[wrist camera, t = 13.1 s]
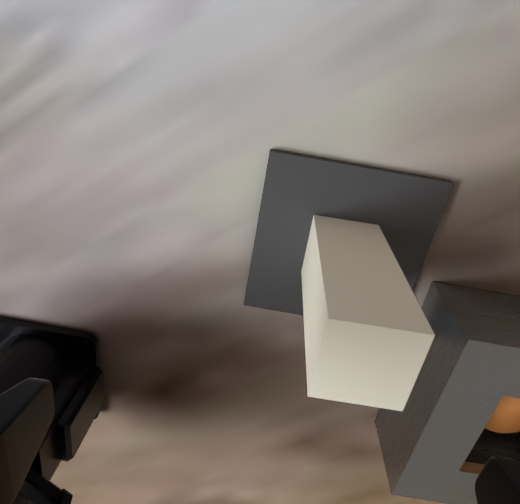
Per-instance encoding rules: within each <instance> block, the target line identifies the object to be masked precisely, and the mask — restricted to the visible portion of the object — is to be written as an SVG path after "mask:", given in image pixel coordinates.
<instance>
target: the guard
mask: <svg viewBox="0 0 520 504" xmlns="http://www.w3.org/2000/svg"><path fill="white" fill-rule="evenodd" d="M422 311H423V313H424V315H425V317H426V319H427V321H428V323H429V325H430V327H431V328H432V330H433V332H434V334H435V337H434V339H433V341H432V344H431V346H430V348H429V351H428V353H427V355H426V358H425V360H424V363H423V365H422V367H421V370H420V372H419V374H418V377H417V379H416V381H415V384H414V386H413V388H412V391H411V393H410V395H409V398H408V400H407V403H406V405H405V407H404V410H403V411H397V410H390V409H384V408H380V410H379V413H378V415H377V418H376V420H375V424H376V428H377V433H378V437H379V441H380V446H381V450H382V454H383V459H384V463H385V468H386V472H387V476H388V481H389V485H390V489H391V494H393V495H398V496H404V497H410V498H416V499H422V500H428V501H434V502H440V503H446V504H477V499H476V495H475V482H476V479H477V477H478V475H479V474H480V472H481V471H482V469H483V468H484V466H485V464H486V463H487V461H488V460H489V458H491V457H492V456H500V457H506V458H511V459H514V460H516V461H517V462H518V463H519V464H520V433H497V432H493V431H490V430H488V429H486V428H485V426H486V425H487V423H488V421H489V420H490V418H491V416H492V415H493V413H494V411H495V410H496V408H497V406H498V404H499V403H500V401H501V399H502V398H503V396H508V397H513V398H519V399H520V297H519V296H514V295H508V294H502V293H496V292H491V291H485V290H479V289H473V288H467V287H462V286H456V285H450V284H444V283H439V282H432V284H431V287H430V289H429V292H428V294H427V296H426V299H425V301H424V304H423V306H422Z"/></svg>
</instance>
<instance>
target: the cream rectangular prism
mask: <svg viewBox="0 0 520 504" xmlns="http://www.w3.org/2000/svg"><path fill="white" fill-rule="evenodd" d="M301 275H302V295H303V315H304V335H305V355H306V374H307V394H308V397H314V398H320V399H327V400H333V401H339V402H346V403H352V404H358V405H365V406H371V407H378V408H384V409H390V410H397V411H403V410H404V407H405V405H406V403H407V400H408V398H409V395H410V393H411V391H412V388H413V386H414V384H415V381H416V379H417V377H418V374H419V372H420V370H421V367H422V365H423V363H424V360H425V358H426V355H427V353H428V351H429V348H430V346H431V344H432V341H433V339H434V337H435V334H434V332H433V330H432V328H431V327H430V325H429V323H428V321H427V319H426V317H425V315H424V313H423V311H422V309H421V307H420V305H419V303H418V301H417V299H416V297H415V295H414V293H413V291H412V289H411V287H410V285H409V283H408V281H407V280H406V278H405V276H404V274H403V272H402V270H401V268H400V266H399V264H398V262H397V260H396V258H395V256H394V254H393V252H392V250H391V248H390V246H389V244H388V242H387V240H386V238H385V236H384V234H383V233H382V231H381V229H380V227H379V225H376V224H369V223H363V222H357V221H350V220H344V219H338V218H331V217H325V216H319V215H313V220H312V224H311V229H310V234H309V238H308V243H307V247H306V252H305V257H304V261H303V266H302V270H301Z"/></svg>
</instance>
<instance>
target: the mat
mask: <svg viewBox="0 0 520 504" xmlns="http://www.w3.org/2000/svg"><path fill="white" fill-rule="evenodd" d="M452 186H453V183H452V182H451V181H448V180H442V179H437V178H431V177H425V176H420V175H414V174H408V173H403V172H397V171H391V170H385V169H380V168H374V167H368V166H363V165H357V164H351V163H346V162H340V161H334V160H329V159H323V158H317V157H312V156H306V155H300V154H295V153H289V152H283V151H278V150H272V149H270V154H269V160H268V165H267V171H266V177H265V183H264V189H263V195H262V201H261V207H260V212H259V218H258V224H257V230H256V236H255V242H254V248H253V254H252V260H251V265H250V271H249V277H248V283H247V289H246V295H245V301H244V305H247V306H252V307H258V308H264V309H270V310H276V311H282V312H287V313H293V314H299V315H303V295H302V275H301V270H302V266H303V261H304V257H305V252H306V247H307V243H308V238H309V234H310V229H311V224H312V220H313V215H319V216H325V217H331V218H338V219H344V220H350V221H357V222H363V223H369V224H376V225H379V227H380V229H381V231H382V233H383V234H384V236H385V238H386V240H387V242H388V244H389V246H390V248H391V250H392V252H393V254H394V256H395V258H396V260H397V262H398V264H399V266H400V268H401V270H402V272H403V274H404V276H405V278H406V280H407V281H408V283H409V285H410V287H411V289H413V286H414V284H415V281H416V279H417V276H418V273H419V271H420V268H421V266H422V263H423V261H424V258H425V255H426V253H427V250H428V248H429V245H430V243H431V240H432V238H433V235H434V232H435V230H436V227H437V225H438V222H439V220H440V217H441V214H442V212H443V209H444V207H445V204H446V202H447V199H448V197H449V194H450V191H451V189H452Z"/></svg>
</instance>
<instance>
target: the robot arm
mask: <svg viewBox="0 0 520 504" xmlns="http://www.w3.org/2000/svg"><path fill="white" fill-rule="evenodd" d="M86 341H88V342H90V343H91V344H90V343H87V342H86ZM103 401H104V395H103V371H102V369H101V368H100V367H99V341H98V338H97V337H96V336H95V335H93V334H91V333H86V332H81V331H75V330H69V329H63V328H57V327H51V326H45V325H39V324H34V323H28V322H22V321H16V320H10V319H4V318H0V504H71V500H72V496H73V495H72V494H71V493H69V492H68V491H67V490H65V489H60V488H59V487H57V486H56V485H55V484H53V483H52V482H51V481H50V480H51V478H52V476H53V474H54V472H55V471H56V469H57V467H58V465H59V463H60V462H61V460H62V461H69V460H71V459H72V458H73V457H74V456H75V454H76V452H77V450H78V448H79V446H80V444H81V442H82V441H83V439H84V437H85V435H86V433H87V431H88V429H89V427H90V426H91V424H92V422H93V420H94V419H96V418H97V417H98V415H99V413H100V410H101V408H100V407H101V405H102V403H103ZM475 495H476V499H477V504H520V464H519V463H518V462H517V461H516V460H514V459H511V458H506V457H500V456H492V457H491V458H489V460H488V461H487V463H486V464H485V466H484V468H483V469H482V471H481V472H480V474H479V475H478V477H477V479H476V482H475Z"/></svg>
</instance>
